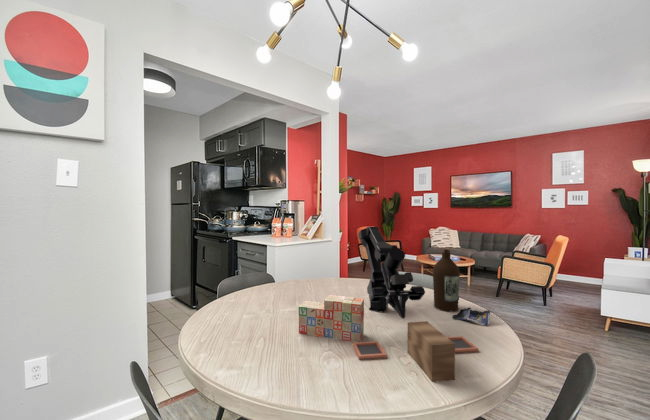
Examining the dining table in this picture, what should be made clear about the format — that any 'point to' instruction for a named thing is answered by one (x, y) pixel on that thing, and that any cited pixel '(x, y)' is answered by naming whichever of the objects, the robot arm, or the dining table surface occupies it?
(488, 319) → the snack package
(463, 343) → the tile
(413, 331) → the walnut brick
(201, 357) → the dining table surface
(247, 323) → the dining table surface
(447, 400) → the dining table surface
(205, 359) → the dining table surface
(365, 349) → the tile
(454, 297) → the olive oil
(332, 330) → the stack of blocks
